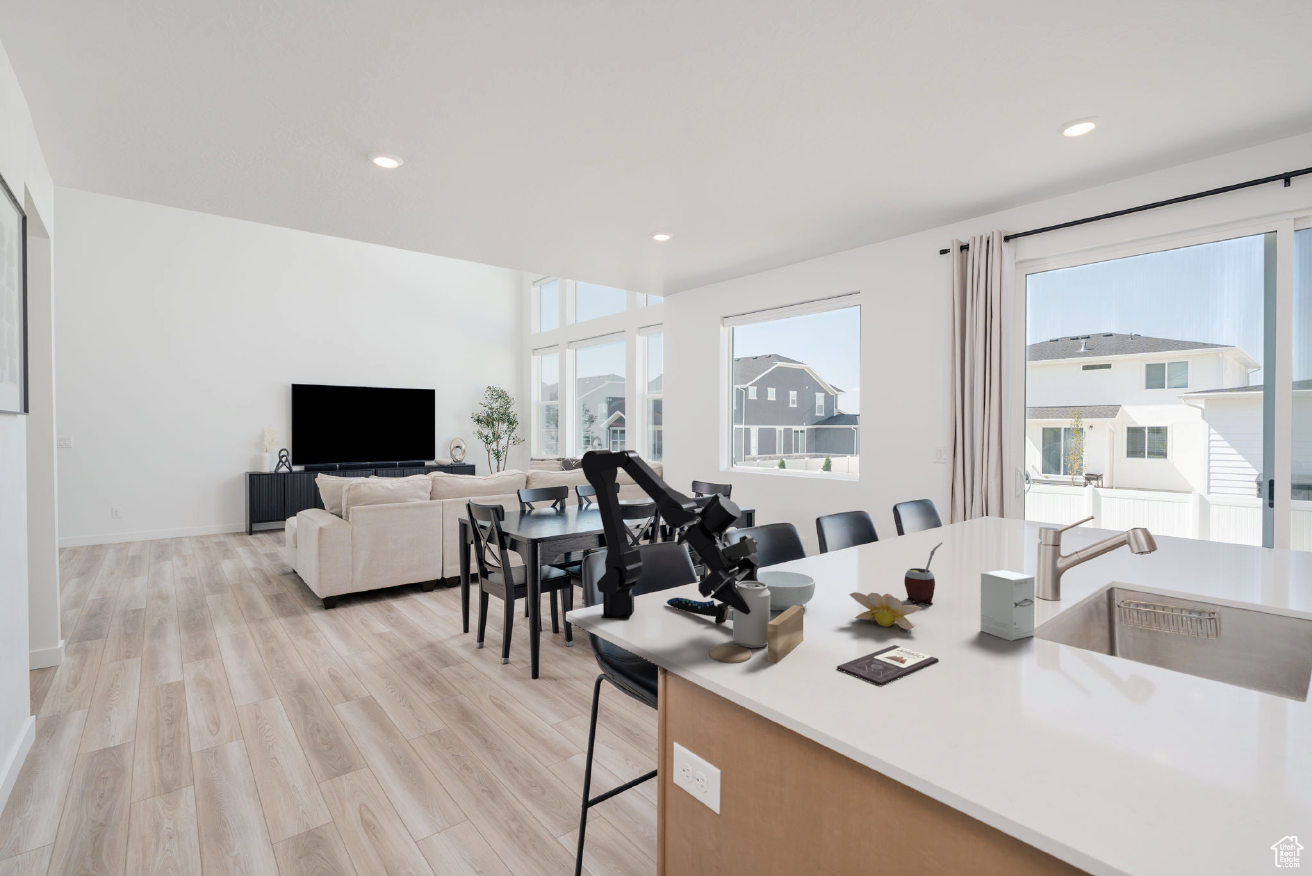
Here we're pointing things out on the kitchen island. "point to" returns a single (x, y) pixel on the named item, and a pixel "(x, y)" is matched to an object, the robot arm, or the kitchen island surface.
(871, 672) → the chocolate bar
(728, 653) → the coaster
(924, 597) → the mate gourd
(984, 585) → the supplement box
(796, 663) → the kitchen island surface
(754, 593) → the can
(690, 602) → the knife
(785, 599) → the cereal bowl
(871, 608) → the decorative flower
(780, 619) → the plinth board
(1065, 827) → the kitchen island surface
